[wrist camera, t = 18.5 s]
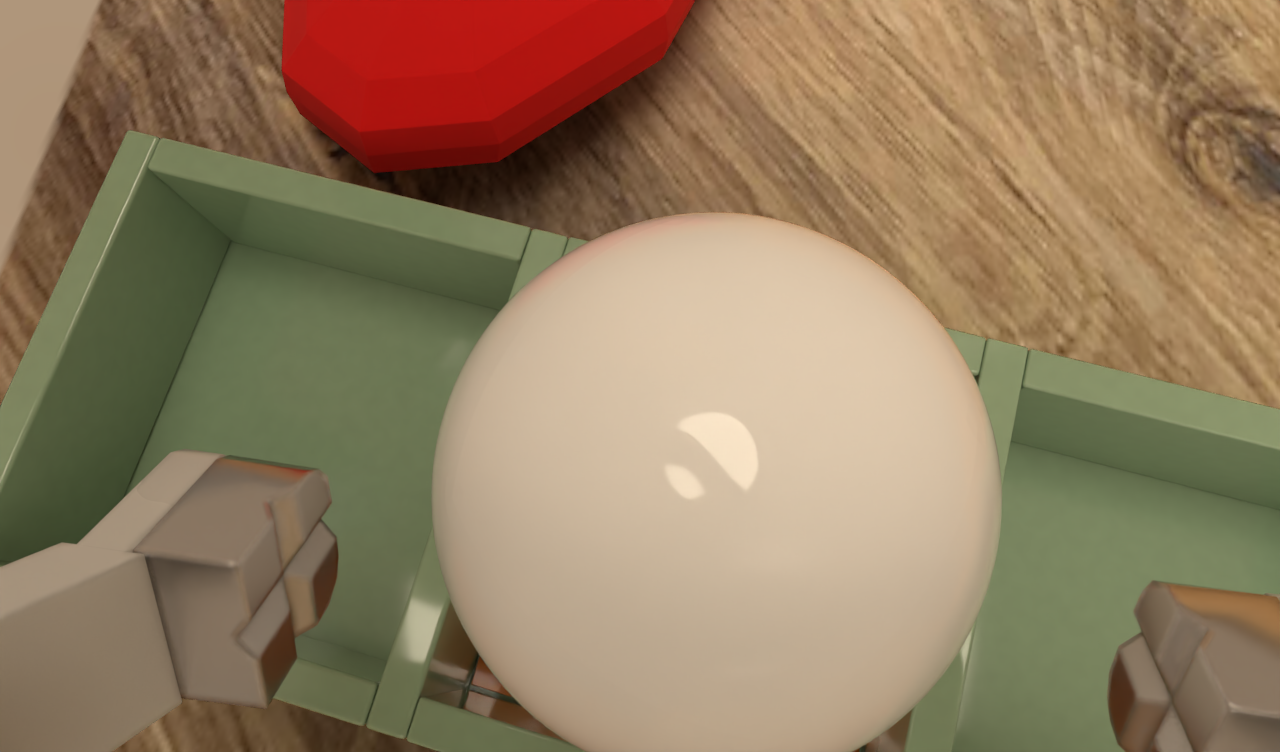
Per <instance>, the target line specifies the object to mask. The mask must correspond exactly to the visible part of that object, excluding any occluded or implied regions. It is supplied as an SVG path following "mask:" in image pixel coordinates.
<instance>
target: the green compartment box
mask: <svg viewBox="0 0 1280 752" xmlns="http://www.w3.org/2000/svg"><path fill="white" fill-rule="evenodd" d="M586 242H588V241H586V240H582V239H578V238H574V237H570V238H569V239H568V238H567V237H566V236H564V235H560V234H556V233H552V232H547V231H543V230H539V229H533V230H531V228H529V227H528V226H524V225H520V224H515V223H511V222H507V221H503V220H499V219H495V218H491V217H487V216H483V215H478V214H474V213H470V212H466V211H462V210H458V209H454V208H450V207H446V206H441V205H437V204H433V203H429V202H425V201H421V200H417V199H413V198H409V197H404V196H400V195H396V194H392V193H388V192H384V191H380V190H376V189H372V188H367V187H363V186H359V185H355V184H351V183H347V182H343V181H339V180H335V179H330V178H326V177H322V176H318V175H314V174H310V173H306V172H302V171H298V170H293V169H289V168H285V167H281V166H277V165H273V164H269V163H265V162H261V161H256V160H252V159H248V158H244V157H240V156H236V155H232V154H228V153H224V152H219V151H215V150H211V149H207V148H203V147H199V146H195V145H191V144H187V143H182V142H178V141H174V140H170V139H166V138H161V139H160V138H159V137H157V136H153V135H149V134H145V133H141V132H136V131H132V130H128V131H127V132H126V135H125V137H124V139H123V141H122V143H121V145H120V148H119V150H118V152H117V154H116V156H115V158H114V161H113V163H112V165H111V167H110V169H109V171H108V173H107V176H106V178H105V180H104V182H103V184H102V186H101V189H100V191H99V193H98V195H97V197H96V199H95V202H94V204H93V206H92V208H91V210H90V212H89V215H88V217H87V219H86V221H85V223H84V225H83V228H82V230H81V232H80V234H79V236H78V238H77V241H76V243H75V245H74V247H73V249H72V251H71V254H70V256H69V258H68V260H67V262H66V264H65V267H64V269H63V271H62V273H61V275H60V277H59V280H58V282H57V284H56V286H55V288H54V290H53V293H52V295H51V297H50V299H49V301H48V303H47V306H46V308H45V310H44V312H43V314H42V316H41V319H40V321H39V323H38V325H37V327H36V329H35V332H34V334H33V336H32V338H31V340H30V342H29V345H28V347H27V349H26V351H25V353H24V355H23V357H22V360H21V362H20V364H19V366H18V368H17V370H16V373H15V375H14V377H13V379H12V381H11V383H10V386H9V388H8V390H7V392H6V394H5V396H4V399H3V401H2V403H1V405H0V567H2V566H4V565H7V564H9V563H12V562H14V561H17V560H19V559H22V558H24V557H27V556H29V555H32V554H34V553H36V552H39V551H41V550H44V549H46V548H49V547H51V546H54V545H56V544H59V543H61V542H63V543H70V544H77V543H78V542H79V541H80V540H82V539H83V538H84V537H85V536H86V535H87V534H88V533H89V532H90V531H91V530H92V529H93V528H94V527H95V526H96V525H97V524H98V523H99V522H100V521H101V520H102V519H103V518H104V517H105V516H106V515H107V514H108V513H109V512H110V511H111V510H112V509H113V508H114V507H115V506H116V505H117V504H118V503H119V502H120V501H121V500H122V499H123V498H124V497H125V496H126V495H127V494H128V493H129V492H130V491H131V490H132V489H133V488H134V487H135V486H137V485H138V484H139V483H140V482H141V481H142V480H143V479H144V478H145V477H146V476H147V475H148V474H149V473H150V472H151V471H152V470H153V469H154V468H155V467H156V466H157V465H158V464H159V463H160V462H161V461H162V460H163V459H164V458H165V457H166V456H167V455H168V454H169V453H170V452H174V451H178V450H181V449H190V450H197V451H204V452H211V453H218V454H223V455H227V456H228V455H234V456H241V457H247V458H253V459H260V460H266V461H273V462H279V463H285V464H292V465H298V466H305V467H311V468H317V469H320V470H321V471H322V472H323V473H324V474H326V475H327V476H328V481H329V487H330V493H331V498H332V503H331V505H330V506H329V508H328V509H327V511H326V512H325V514H324V515H323V517H322V518H321V519H322V520H323V521H324V523H325V524H326V525H327V526H328V527H329V528H330V530H331V531H332V532H333V533H334V534H335V535H336V537H337V545H338V553H339V559H338V574H337V580H336V583H335V586H334V590H333V593H332V596H331V600H330V603H329V605H328V607H327V609H326V611H325V612H324V614H323V616H322V618H321V619H320V621H319V623H318V625H317V626H315V627H313V628H312V629H310V630H308V631H306V632H305V633H303V634H301V635H299V636H298V637H296V638H294V639H295V645H296V652H297V660H296V661H295V663H294V664H293V666H292V668H291V669H290V671H289V673H288V674H287V676H286V678H285V679H284V681H283V682H282V684H281V686H280V687H279V689H278V691H277V692H276V694H275V696H274V697H273V699H276V700H279V701H282V702H286V703H289V704H292V705H295V706H298V707H301V708H304V709H307V710H311V711H314V712H317V713H320V714H323V715H326V716H329V717H333V718H336V719H339V720H342V721H345V722H348V723H351V724H354V725H358V726H364V725H366V726H367V727H368V728H369V729H370V730H373V731H376V732H379V733H383V734H386V735H389V736H392V737H395V738H398V739H406V738H407V741H408V742H410V743H413V744H416V745H419V746H422V747H425V748H429V749H432V750H435V751H438V752H584V751H583V750H581V749H579V748H577V747H576V746H574V745H572V744H570V743H569V742H567V741H566V740H564V739H563V738H561V737H559V736H558V735H557V734H555V733H554V732H552V731H551V730H550V729H548V728H547V727H545V726H544V725H543V724H542V723H540V722H539V721H538V720H537V719H535V718H534V717H533V716H532V715H531V714H530V713H529V712H527V711H526V710H525V709H524V708H523V707H522V706H521V705H520V704H519V703H518V702H517V701H516V700H515V699H514V698H513V697H512V696H511V695H510V694H509V693H508V692H507V690H506V689H505V688H504V687H503V686H502V685H501V684H500V682H499V681H498V680H497V679H496V677H495V676H494V675H493V674H492V672H491V671H490V670H489V668H488V667H487V666H486V664H485V663H484V661H483V660H482V659H481V657H480V656H479V654H478V653H477V651H476V649H475V648H474V646H473V645H472V643H471V641H470V640H469V638H468V636H467V634H466V632H465V630H464V629H463V627H462V625H461V623H460V620H459V618H458V616H457V614H456V612H455V609H454V607H453V605H452V602H451V600H450V597H449V594H448V592H447V589H446V586H445V583H444V580H443V576H442V573H441V569H440V565H439V561H438V557H437V552H436V547H435V541H434V534H433V525H432V511H431V482H432V469H433V460H434V453H435V447H436V442H437V437H438V432H439V428H440V424H441V420H442V417H443V414H444V410H445V407H446V404H447V402H448V399H449V396H450V393H451V391H452V389H453V386H454V384H455V381H456V379H457V377H458V375H459V373H460V371H461V369H462V367H463V365H464V363H465V361H466V359H467V357H468V356H469V354H470V352H471V350H472V349H473V347H474V345H475V344H476V342H477V341H478V339H479V338H480V336H481V335H482V333H483V332H484V330H485V329H486V328H487V326H488V325H489V324H490V322H491V321H492V320H493V318H494V317H495V316H496V315H497V313H498V312H499V311H500V310H501V309H502V308H503V307H504V305H505V304H506V303H507V302H508V301H509V300H510V299H511V298H512V297H513V296H514V295H515V294H516V293H517V292H518V291H519V290H520V289H521V288H522V287H523V286H524V285H525V284H527V283H528V282H529V281H530V280H531V279H532V278H534V277H535V276H536V275H537V274H539V273H540V272H541V271H542V270H544V269H545V268H546V267H548V266H549V265H550V264H552V263H553V262H555V261H556V260H558V259H559V258H561V257H562V256H564V255H565V254H567V253H569V252H570V251H572V250H574V249H575V248H577V247H579V246H581V245H583V244H585V243H586ZM945 330H946V331H947V332H948V334H949V335H950V337H951V338H952V340H953V341H954V343H955V344H956V345H957V347H958V349H959V350H960V352H961V354H962V355H963V357H964V359H965V360H966V362H967V364H968V366H969V368H970V370H971V372H972V374H973V376H974V378H975V380H976V382H977V384H978V387H979V389H980V391H981V394H982V396H983V399H984V402H985V405H986V407H987V410H988V413H989V417H990V420H991V423H992V427H993V431H994V435H995V439H996V444H997V449H998V455H999V461H1000V470H1001V480H1002V521H1001V532H1000V540H999V546H998V552H997V557H996V562H995V566H994V570H993V574H992V578H991V581H990V585H989V588H988V591H987V594H986V597H985V600H984V602H983V605H982V608H981V610H980V612H979V615H978V617H977V619H976V621H975V623H974V626H973V628H972V630H971V632H970V634H969V636H968V637H967V639H966V641H965V643H964V645H963V646H962V648H961V650H960V651H959V653H958V655H957V656H956V658H955V659H954V661H953V662H952V664H951V665H950V667H949V668H948V669H947V671H946V672H945V673H944V675H943V676H942V677H941V678H940V680H939V681H938V682H937V684H936V685H935V686H934V687H933V688H932V689H931V690H930V691H929V693H928V694H927V695H926V696H925V697H924V698H923V699H922V700H921V701H920V702H919V703H918V704H917V705H916V706H915V707H914V708H913V709H912V710H911V711H910V712H909V713H907V714H906V715H905V716H904V717H903V718H902V719H900V720H899V721H898V722H897V723H896V724H894V725H893V726H892V727H891V728H889V729H888V730H887V731H885V732H884V733H883V734H881V735H880V736H878V737H877V738H875V739H874V740H872V741H871V742H869V743H868V744H866V745H864V746H863V747H861V748H859V749H858V750H856V751H854V752H1125V751H1124V750H1123V749H1122V748H1121V747H1120V746H1119V745H1118V744H1117V741H1116V738H1115V735H1114V732H1113V729H1112V726H1111V723H1110V718H1109V711H1108V704H1107V692H1108V679H1109V671H1110V668H1111V665H1112V662H1113V660H1114V657H1115V654H1116V652H1117V649H1118V646H1119V645H1121V644H1122V643H1124V642H1125V641H1127V640H1129V639H1130V638H1132V637H1133V636H1135V635H1137V634H1138V633H1140V632H1141V629H1140V627H1139V624H1138V622H1137V619H1136V617H1135V615H1134V612H1133V610H1134V608H1135V606H1136V604H1137V601H1138V599H1139V597H1140V595H1141V592H1142V591H1143V590H1144V589H1145V588H1146V587H1147V586H1148V585H1149V584H1150V582H1151V581H1152V580H1155V581H1163V582H1171V583H1179V584H1187V585H1194V586H1202V587H1210V588H1218V589H1226V590H1233V591H1241V592H1249V593H1257V594H1265V593H1271V594H1280V409H1277V408H1273V407H1269V406H1265V405H1261V404H1257V403H1252V402H1248V401H1244V400H1240V399H1236V398H1232V397H1228V396H1224V395H1220V394H1215V393H1211V392H1207V391H1203V390H1199V389H1195V388H1191V387H1187V386H1183V385H1178V384H1174V383H1170V382H1166V381H1162V380H1158V379H1154V378H1150V377H1146V376H1141V375H1137V374H1133V373H1129V372H1125V371H1121V370H1117V369H1113V368H1109V367H1104V366H1100V365H1096V364H1092V363H1088V362H1084V361H1080V360H1076V359H1072V358H1067V357H1063V356H1059V355H1055V354H1051V353H1047V352H1043V351H1039V350H1035V349H1029V350H1028V348H1026V347H1023V346H1019V345H1015V344H1011V343H1006V342H1002V341H998V340H994V339H987V340H986V339H985V338H984V337H981V336H977V335H973V334H969V333H965V332H961V331H956V330H952V329H948V328H945Z"/></svg>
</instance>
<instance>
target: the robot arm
mask: <svg viewBox="0 0 1280 752" xmlns="http://www.w3.org/2000/svg"><path fill="white" fill-rule="evenodd" d="M331 503H332V498H331V493H330V487H329V481H328V476H327V475H326V474H324V473H323V472H322V471H321V470H320V469H317V468H311V467H305V466H298V465H292V464H285V463H279V462H273V461H266V460H260V459H253V458H247V457H241V456H234V455H228V456H227V455H223V454H218V453H211V452H204V451H197V450H190V449H181V450H178V451H174V452H170V453H169V454H168V455H167V456H166V457H165V458H164V459H163V460H162V461H161V462H160V463H159V464H158V465H157V466H156V467H155V468H154V469H153V470H152V471H151V472H150V473H149V474H148V475H147V476H146V477H145V478H144V479H143V480H142V481H141V482H140V483H139V484H138V485H137V486H135V487H134V488H133V489H132V490H131V491H130V492H129V493H128V494H127V495H126V496H125V497H124V498H123V499H122V500H121V501H120V502H119V503H118V504H117V505H116V506H115V507H114V508H113V509H112V510H111V511H110V512H109V513H108V514H107V515H106V516H105V517H104V518H103V519H102V520H101V521H100V522H99V523H98V524H97V525H96V526H95V527H94V528H93V529H92V530H91V531H90V532H89V533H88V534H87V535H86V536H85V537H84V538H83V539H82V540H80V541H79V542H78V543H77V544H70V543H63V542H61V543H59V544H56V545H54V546H51V547H49V548H46V549H44V550H41V551H39V552H36V553H34V554H32V555H29V556H27V557H24V558H22V559H19V560H17V561H14V562H12V563H9V564H7V565H4V566H2V567H0V752H112V751H114V750H115V749H117V748H118V747H120V746H121V745H123V744H124V743H125V742H127V741H128V740H130V739H131V738H133V737H134V736H136V735H137V734H138V733H140V732H141V731H143V730H144V729H146V728H147V727H148V726H150V725H151V724H153V723H154V722H156V721H157V720H159V719H160V718H161V717H163V716H164V715H166V714H167V713H169V712H170V711H172V710H173V709H174V708H176V707H177V706H179V705H180V704H182V698H184V699H191V700H199V701H207V702H215V703H223V704H230V705H238V706H246V707H254V708H262V709H267V707H268V705H269V704H270V702H271V701H272V699H273V697H274V696H275V694H276V692H277V691H278V689H279V687H280V686H281V684H282V682H283V681H284V679H285V678H286V676H287V674H288V673H289V671H290V669H291V668H292V666H293V664H294V663H295V661H296V660H297V652H296V645H295V639H294V638H296V637H298V636H299V635H301V634H303V633H305V632H306V631H308V630H310V629H312V628H313V627H315V626H317V625H318V623H319V621H320V619H321V618H322V616H323V614H324V612H325V611H326V609H327V607H328V605H329V603H330V600H331V596H332V593H333V590H334V586H335V583H336V580H337V574H338V559H339V553H338V545H337V537H336V535H335V534H334V533H333V532H332V531H331V530H330V528H329V527H328V526H327V525H326V524H325V523H324V521H323V520H322V519H321V518H322V517H323V515H324V514H325V512H326V511H327V509H328V508H329V506H330V505H331ZM1133 612H1134V615H1135V617H1136V619H1137V622H1138V624H1139V627H1140V629H1141V632H1140V633H1138V634H1137V635H1135V636H1133V637H1132V638H1130V639H1129V640H1127V641H1125V642H1124V643H1122V644H1121V645H1119V646H1118V649H1117V652H1116V654H1115V657H1114V660H1113V662H1112V665H1111V668H1110V671H1109V679H1108V692H1107V704H1108V711H1109V718H1110V723H1111V726H1112V729H1113V732H1114V735H1115V738H1116V741H1117V744H1118V745H1119V746H1120V747H1121V748H1122V749H1123V750H1124V751H1125V752H1280V594H1271V593H1265V594H1257V593H1249V592H1241V591H1233V590H1226V589H1218V588H1210V587H1202V586H1194V585H1187V584H1179V583H1171V582H1163V581H1155V580H1152V581H1151V582H1150V584H1149V585H1148V586H1147V587H1146V588H1145V589H1144V590H1143V591H1142V592H1141V595H1140V597H1139V599H1138V601H1137V604H1136V606H1135V608H1134V610H1133Z"/></svg>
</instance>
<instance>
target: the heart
mask: <svg viewBox="0 0 1280 752" xmlns="http://www.w3.org/2000/svg"><path fill="white" fill-rule="evenodd" d="M694 2H695V0H285V4H284V27H283V51H282V74H283V78H284V82H285V87H286V91H287V93H288V95H289V96H290V98H291V99H292V101H293V103H294V104H295V106H296V108H297V109H298V111H299V112H300V114H301V115H302V116H304V117H305V118H306V119H307V120H309V121H310V122H311V123H312V124H314V125H315V126H316V127H317V128H319V129H320V130H321V131H322V132H324V133H325V134H326V135H327V136H329V137H330V138H331V139H332V140H334V141H335V142H336V143H337V144H339V145H340V146H341V147H342V148H344V149H345V150H346V151H347V152H349V153H350V154H351V155H352V156H353V157H355V158H356V159H357V160H358V161H360V162H361V163H362V164H363V165H365V166H366V167H367V168H368V169H370V170H371V171H372V172H373V173H380V172H392V171H403V170H414V169H425V168H436V167H447V166H458V165H469V164H480V163H492V162H498V161H500V160H502V159H503V158H505V157H506V156H508V155H510V154H511V153H513V152H514V151H516V150H518V149H519V148H521V147H522V146H524V145H526V144H527V143H529V142H530V141H532V140H534V139H535V138H537V137H538V136H540V135H542V134H543V133H545V132H546V131H548V130H550V129H551V128H553V127H554V126H556V125H558V124H559V123H561V122H562V121H564V120H565V119H567V118H569V117H570V116H572V115H573V114H575V113H577V112H578V111H580V110H581V109H583V108H585V107H586V106H588V105H589V104H591V103H593V102H594V101H596V100H597V99H599V98H601V97H602V96H604V95H605V94H607V93H609V92H610V91H612V90H613V89H615V88H617V87H618V86H620V85H621V84H623V83H625V82H626V81H628V80H629V79H631V78H632V77H634V76H636V75H637V74H639V73H640V72H642V71H644V70H645V69H647V68H648V67H650V66H652V65H653V64H655V63H656V62H658V61H660V60H661V59H663V57H664V55H665V53H666V51H667V50H668V48H669V46H670V44H671V43H672V41H673V39H674V37H675V36H676V34H677V32H678V30H679V29H680V27H681V25H682V23H683V21H684V20H685V18H686V16H687V14H688V13H689V11H690V9H691V7H692V6H693V4H694Z"/></svg>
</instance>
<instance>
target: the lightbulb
mask: <svg viewBox="0 0 1280 752" xmlns="http://www.w3.org/2000/svg"><path fill="white" fill-rule="evenodd" d="M431 511H432V525H433V534H434V541H435V547H436V552H437V557H438V561H439V565H440V569H441V573H442V576H443V580H444V583H445V586H446V589H447V592H448V594H449V597H450V600H451V602H452V605H453V607H454V609H455V612H456V614H457V616H458V618H459V620H460V623H461V625H462V627H463V629H464V630H465V632H466V634H467V636H468V638H469V640H470V641H471V643H472V645H473V646H474V648H475V649H476V651H477V653H478V654H479V656H480V657H481V659H482V660H483V661H484V663H485V664H486V666H487V667H488V668H489V670H490V671H491V672H492V674H493V675H494V676H495V677H496V679H497V680H498V681H499V682H500V684H501V685H502V686H503V687H504V688H505V689H506V690H507V692H508V693H509V694H510V695H511V696H512V697H513V698H514V699H515V700H516V701H517V702H518V703H519V704H520V705H521V706H522V707H523V708H524V709H525V710H526V711H527V712H529V713H530V714H531V715H532V716H533V717H534V718H535V719H537V720H538V721H539V722H540V723H542V724H543V725H544V726H545V727H547V728H548V729H550V730H551V731H552V732H554V733H555V734H557V735H558V736H559V737H561V738H563V739H564V740H566V741H567V742H569V743H570V744H572V745H574V746H576V747H577V748H579V749H581V750H583V751H584V752H854V751H856V750H858V749H859V748H861V747H863V746H864V745H866V744H868V743H869V742H871V741H872V740H874V739H875V738H877V737H878V736H880V735H881V734H883V733H884V732H885V731H887V730H888V729H889V728H891V727H892V726H893V725H894V724H896V723H897V722H898V721H899V720H900V719H902V718H903V717H904V716H905V715H906V714H907V713H909V712H910V711H911V710H912V709H913V708H914V707H915V706H916V705H917V704H918V703H919V702H920V701H921V700H922V699H923V698H924V697H925V696H926V695H927V694H928V693H929V691H930V690H931V689H932V688H933V687H934V686H935V685H936V684H937V682H938V681H939V680H940V678H941V677H942V676H943V675H944V673H945V672H946V671H947V669H948V668H949V667H950V665H951V664H952V662H953V661H954V659H955V658H956V656H957V655H958V653H959V651H960V650H961V648H962V646H963V645H964V643H965V641H966V639H967V637H968V636H969V634H970V632H971V630H972V628H973V626H974V623H975V621H976V619H977V617H978V615H979V612H980V610H981V608H982V605H983V602H984V600H985V597H986V594H987V591H988V588H989V585H990V581H991V578H992V574H993V570H994V566H995V562H996V557H997V552H998V546H999V540H1000V532H1001V521H1002V480H1001V470H1000V461H999V455H998V449H997V444H996V439H995V435H994V431H993V427H992V423H991V420H990V417H989V413H988V410H987V407H986V405H985V402H984V399H983V396H982V394H981V391H980V389H979V387H978V384H977V382H976V380H975V378H974V376H973V374H972V372H971V370H970V368H969V366H968V364H967V362H966V360H965V359H964V357H963V355H962V354H961V352H960V350H959V349H958V347H957V345H956V344H955V343H954V341H953V340H952V338H951V337H950V335H949V334H948V332H947V331H946V330H945V328H944V327H943V326H942V324H941V323H940V322H939V321H938V319H937V318H936V317H935V316H934V315H933V313H932V312H931V311H930V310H929V309H928V308H927V307H926V306H925V305H924V303H923V302H922V301H921V300H920V299H919V298H918V297H917V296H916V295H915V294H914V293H913V292H912V291H911V290H909V289H908V288H907V287H906V286H905V285H904V284H903V283H902V282H900V281H899V280H898V279H897V278H896V277H894V276H893V275H892V274H891V273H889V272H888V271H887V270H885V269H884V268H883V267H882V266H880V265H879V264H877V263H876V262H874V261H873V260H871V259H870V258H868V257H867V256H865V255H863V254H862V253H860V252H859V251H857V250H855V249H853V248H851V247H850V246H848V245H846V244H844V243H842V242H840V241H838V240H836V239H834V238H831V237H829V236H827V235H824V234H822V233H819V232H817V231H814V230H812V229H809V228H806V227H803V226H800V225H797V224H793V223H790V222H786V221H782V220H778V219H774V218H769V217H764V216H758V215H751V214H743V213H730V212H699V213H685V214H677V215H670V216H664V217H659V218H654V219H650V220H646V221H642V222H638V223H634V224H631V225H628V226H625V227H622V228H619V229H616V230H613V231H611V232H609V233H606V234H604V235H601V236H599V237H597V238H595V239H593V240H590V241H588V242H586V243H585V244H583V245H581V246H579V247H577V248H575V249H574V250H572V251H570V252H569V253H567V254H565V255H564V256H562V257H561V258H559V259H558V260H556V261H555V262H553V263H552V264H550V265H549V266H548V267H546V268H545V269H544V270H542V271H541V272H540V273H539V274H537V275H536V276H535V277H534V278H532V279H531V280H530V281H529V282H528V283H527V284H525V285H524V286H523V287H522V288H521V289H520V290H519V291H518V292H517V293H516V294H515V295H514V296H513V297H512V298H511V299H510V300H509V301H508V302H507V303H506V304H505V305H504V307H503V308H502V309H501V310H500V311H499V312H498V313H497V315H496V316H495V317H494V318H493V320H492V321H491V322H490V324H489V325H488V326H487V328H486V329H485V330H484V332H483V333H482V335H481V336H480V338H479V339H478V341H477V342H476V344H475V345H474V347H473V349H472V350H471V352H470V354H469V356H468V357H467V359H466V361H465V363H464V365H463V367H462V369H461V371H460V373H459V375H458V377H457V379H456V381H455V384H454V386H453V389H452V391H451V393H450V396H449V399H448V402H447V404H446V407H445V410H444V414H443V417H442V420H441V424H440V428H439V432H438V437H437V442H436V447H435V453H434V460H433V469H432V482H431Z"/></svg>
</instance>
